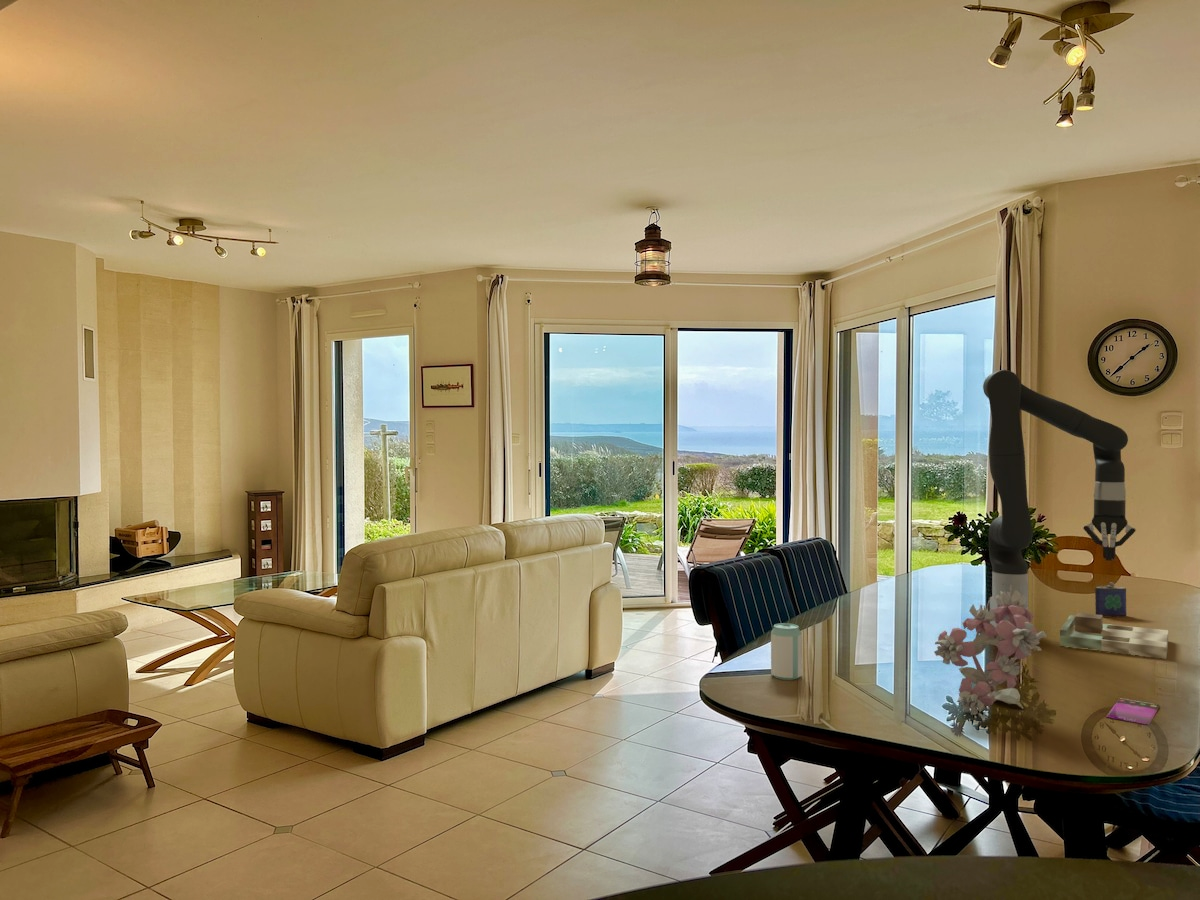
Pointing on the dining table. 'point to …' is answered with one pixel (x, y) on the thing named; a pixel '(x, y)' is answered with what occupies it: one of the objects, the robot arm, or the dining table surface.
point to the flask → (1110, 600)
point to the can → (786, 651)
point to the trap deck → (1117, 639)
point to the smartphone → (1133, 711)
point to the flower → (1007, 644)
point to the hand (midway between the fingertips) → (1109, 560)
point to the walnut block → (1089, 623)
